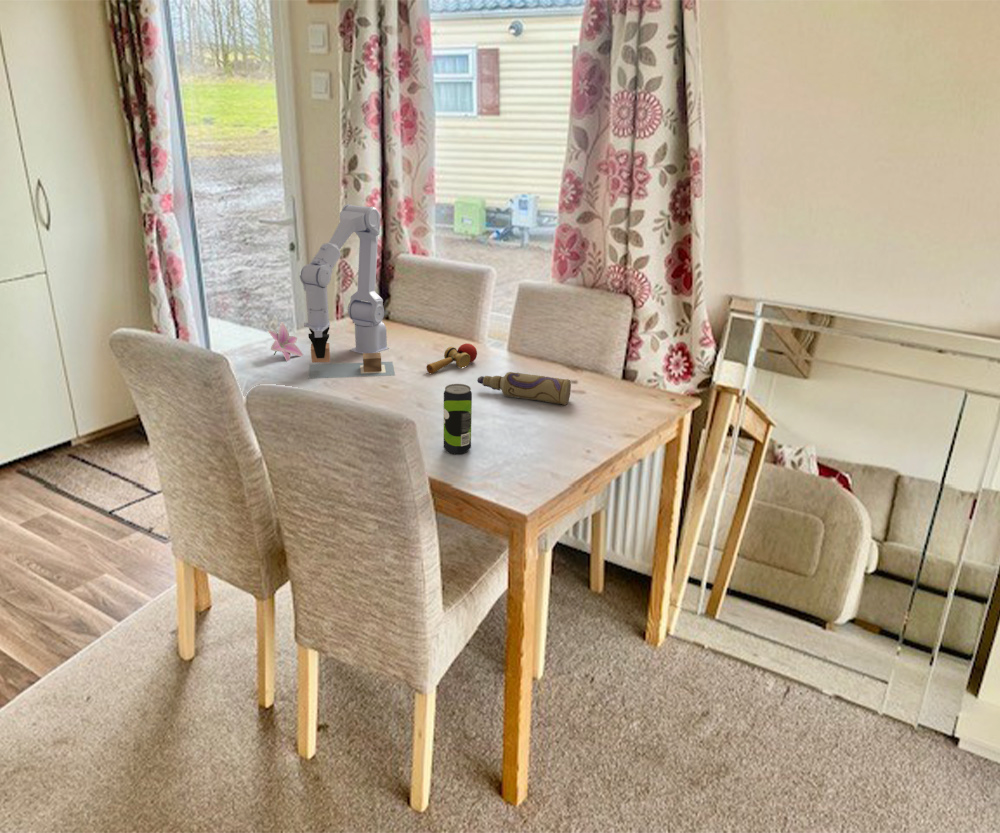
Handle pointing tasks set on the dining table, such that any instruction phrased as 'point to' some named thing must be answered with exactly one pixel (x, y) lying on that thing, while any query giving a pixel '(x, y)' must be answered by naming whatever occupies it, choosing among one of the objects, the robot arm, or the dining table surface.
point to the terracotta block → (315, 359)
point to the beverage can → (457, 418)
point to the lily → (284, 342)
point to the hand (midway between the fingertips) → (320, 354)
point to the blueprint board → (347, 370)
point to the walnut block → (372, 362)
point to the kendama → (455, 357)
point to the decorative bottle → (530, 387)
